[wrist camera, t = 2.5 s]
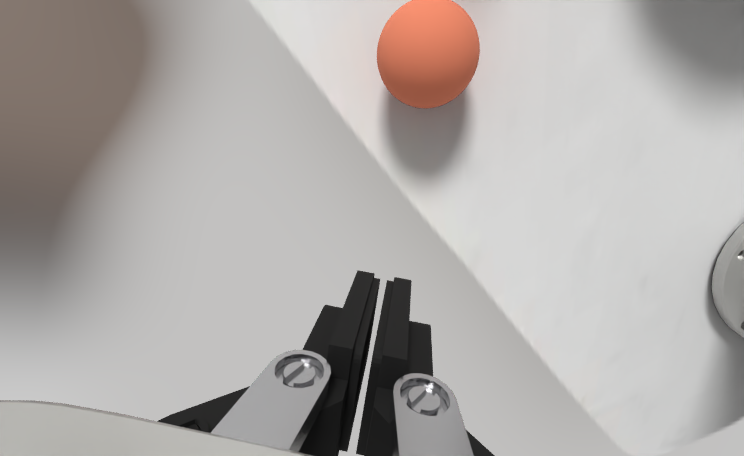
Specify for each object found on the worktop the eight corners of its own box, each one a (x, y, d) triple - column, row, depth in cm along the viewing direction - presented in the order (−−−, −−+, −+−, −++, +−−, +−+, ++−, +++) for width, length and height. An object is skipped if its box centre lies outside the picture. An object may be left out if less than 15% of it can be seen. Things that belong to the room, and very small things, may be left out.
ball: (481, 93, 25) (498, 87, 19) (395, 119, 26) (388, 122, 21) (460, -3, 23) (473, -39, 18) (371, 30, 25) (356, 6, 19)
